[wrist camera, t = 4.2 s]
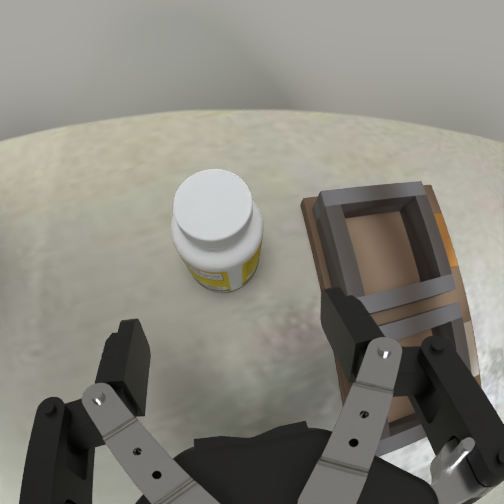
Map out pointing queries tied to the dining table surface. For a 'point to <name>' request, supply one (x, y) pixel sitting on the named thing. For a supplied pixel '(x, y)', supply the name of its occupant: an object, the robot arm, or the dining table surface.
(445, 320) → the socket board
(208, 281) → the supplement bottle
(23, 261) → the dining table surface
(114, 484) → the dining table surface
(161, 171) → the dining table surface
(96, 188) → the dining table surface
